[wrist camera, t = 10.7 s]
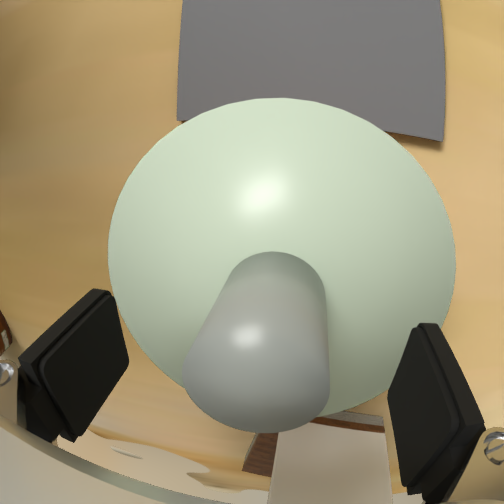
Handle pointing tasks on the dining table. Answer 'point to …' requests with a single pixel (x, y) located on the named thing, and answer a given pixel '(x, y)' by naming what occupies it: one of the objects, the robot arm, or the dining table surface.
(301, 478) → the grey two-tier tower
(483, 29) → the dining table surface
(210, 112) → the lid
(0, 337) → the food container
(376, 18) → the mat
